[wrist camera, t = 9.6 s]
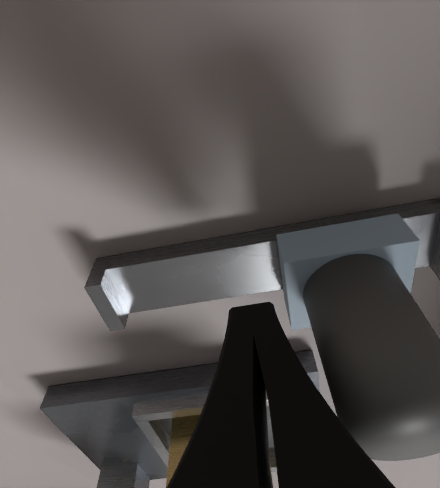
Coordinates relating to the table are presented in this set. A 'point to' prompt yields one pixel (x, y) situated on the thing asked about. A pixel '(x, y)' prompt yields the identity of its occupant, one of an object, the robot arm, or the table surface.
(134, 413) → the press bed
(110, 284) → the rail
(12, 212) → the table surface
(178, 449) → the housing
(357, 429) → the lever
